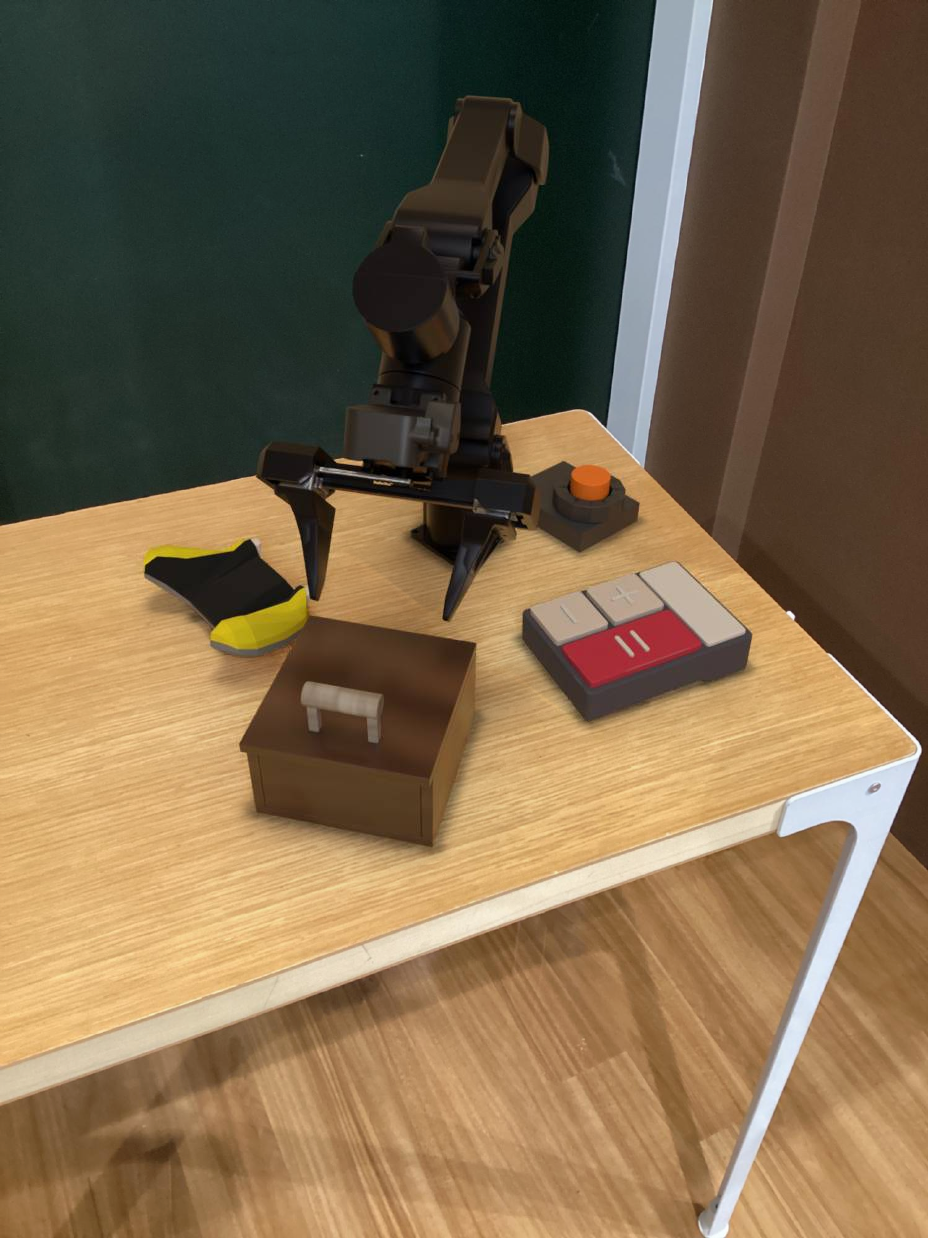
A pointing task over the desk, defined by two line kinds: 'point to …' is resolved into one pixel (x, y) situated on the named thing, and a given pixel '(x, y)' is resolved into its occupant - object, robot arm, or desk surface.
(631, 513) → the console
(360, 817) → the chest
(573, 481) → the button
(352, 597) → the desk surface
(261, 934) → the desk surface
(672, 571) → the calculator
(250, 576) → the gaming controller
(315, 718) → the lid
